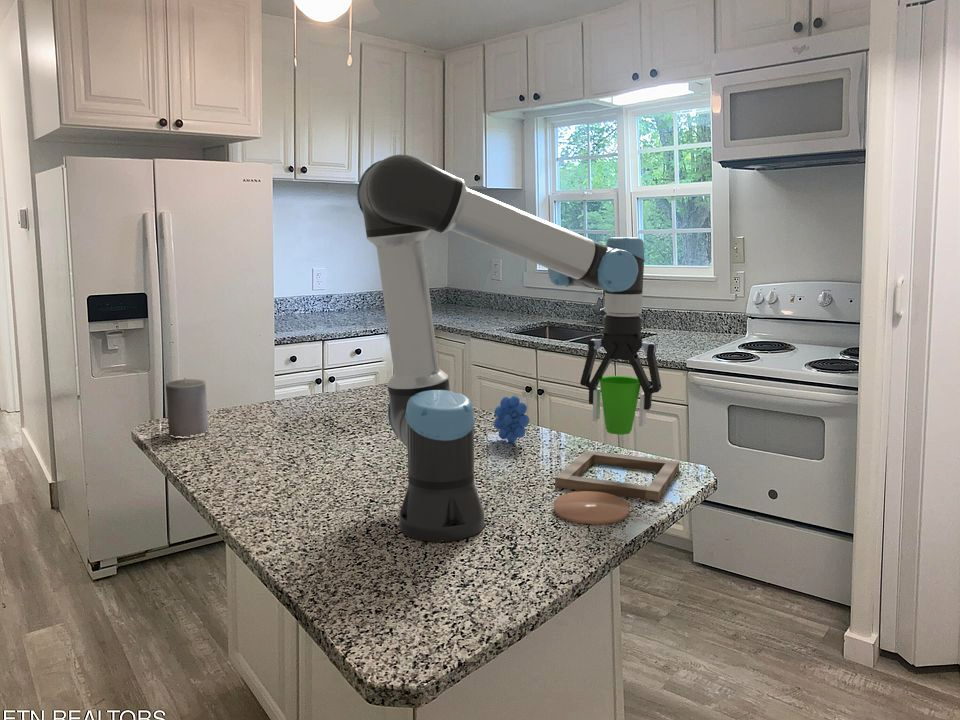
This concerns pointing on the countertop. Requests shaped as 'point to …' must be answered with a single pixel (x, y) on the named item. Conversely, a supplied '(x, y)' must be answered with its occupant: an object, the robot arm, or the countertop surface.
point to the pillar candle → (187, 407)
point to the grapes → (511, 419)
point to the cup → (619, 402)
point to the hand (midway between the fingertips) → (618, 422)
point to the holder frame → (652, 492)
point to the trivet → (591, 507)
